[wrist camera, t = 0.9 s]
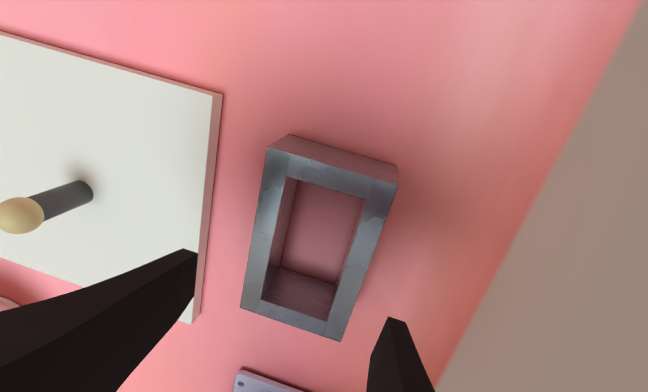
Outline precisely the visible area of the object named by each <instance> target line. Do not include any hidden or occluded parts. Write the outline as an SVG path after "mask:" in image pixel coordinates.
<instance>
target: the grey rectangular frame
mask: <svg viewBox="0 0 648 392" xmlns="http://www.w3.org/2000/svg"><path fill="white" fill-rule="evenodd" d="M298 179H299V180H302V181H305V182H309V183H312V184H315V185H319V186H322V187H325V188H328V189H332V190H335V191H338V192H342V193H345V194H348V195H351V196H355V197H358V198H361V199H364V200H363V203H362V206H361V210H360V213H359V216H358V219H357V222H356V225H355V228H354V231H353V234H352V237H351V240H350V243H349V246H348V249H347V252H346V255H345V258H344V262H343V265H342V268H341V271H340V274H339V277H338V280H337V283H336V285H333V284H330V283H327V282H324V281H321V280H318V279H315V278H312V277H309V276H306V275H303V274H300V273H297V272H294V271H291V270H288V269H285V268H282V267H279V264H280V259H281V255H282V250H283V246H284V241H285V237H286V233H287V228H288V224H289V219H290V215H291V210H292V206H293V202H294V197H295V193H296V188H297V184H298ZM397 188H398V176H397V166H396V165H393V164H389V163H386V162H382V161H379V160H376V159H372V158H369V157H365V156H362V155H358V154H355V153H352V152H348V151H345V150H341V149H338V148H334V147H331V146H327V145H324V144H321V143H317V142H314V141H310V140H307V139H303V138H300V137H297V136H293V135H290V134H288V135H286V136H285V137H283V138H281V139H280V140H278V141H276V142H275V143H273V144H271V145H270V146H268V148H267V153H266V159H265V165H264V171H263V176H262V182H261V188H260V194H259V199H258V205H257V211H256V217H255V222H254V228H253V234H252V240H251V245H250V251H249V257H248V262H247V268H246V274H245V280H244V285H243V291H242V297H241V303H240V308H242V309H245V310H248V311H251V312H254V313H257V314H260V315H262V316H265V317H268V318H271V319H274V320H277V321H280V322H283V323H286V324H289V325H291V326H294V327H297V328H300V329H303V330H306V331H309V332H312V333H315V334H318V335H320V336H323V337H326V338H329V339H332V340H335V341H338V342H341V340H342V337H343V334H344V332H345V329H346V326H347V323H348V321H349V318H350V315H351V313H352V310H353V307H354V304H355V302H356V299H357V296H358V294H359V291H360V288H361V286H362V283H363V280H364V277H365V275H366V272H367V269H368V267H369V264H370V261H371V258H372V256H373V253H374V250H375V248H376V245H377V242H378V240H379V237H380V234H381V231H382V229H383V226H384V223H385V221H386V218H387V215H388V212H389V210H390V207H391V204H392V202H393V199H394V196H395V194H396V191H397Z"/></svg>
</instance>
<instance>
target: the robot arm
mask: <svg viewBox="0 0 648 392" xmlns="http://www.w3.org/2000/svg"><path fill="white" fill-rule="evenodd" d="M197 261H198V253H196V252H193V251H190V250H187V249H184V248H182V249H180V250H177V251H175V252H172V253H170V254H168V255H165V256H163V257H161V258H158V259H156V260H154V261H151V262H149V263H147V264H144V265H142V266H140V267H137V268H135V269H132V270H130V271H128V272H125V273H123V274H120V275H117V276H115V277H112V278H109V279H107V280H104V281H101V282H99V283H96V284H93V285H91V286H88V287H85V288H82V289H79V290H76V291H73V292H70V293H67V294H63V295H60V296H57V297H54V298H50V299H47V300H43V301H40V302H36V303H32V304H28V305H24V306H20V307H16V308H12V309H8V310H4V311H0V392H116V391H117V390H118V388H119V387H120V386H121V385H122V384H123V382H124V381H125V380H126V379H127V377H128V376H129V375H130V374H131V373H132V372H133V370H134V369H135V368H136V367H137V366H138V365H139V364H140V362H141V361H142V360H143V359H144V358H145V357H146V356H147V355H148V353H149V352H150V351H151V350H152V349H153V348H154V347H155V345H156V344H157V343H158V342H159V341H160V340H161V339H162V337H163V336H164V335H165V334H166V333H167V332H168V331H169V329H170V328H171V327H172V326H173V325H174V324H175V322H176V321H177V320H178V319H179V317H180V316H181V315H182V313H183V312H184V310H185V309H186V307H187V306H188V304H189V303H190V301H191V300H192V298H193V297H194V294H195V283H196V272H197ZM233 392H303V391H301V390H298V389H295V388H292V387H290V386H287V385H284V384H281V383H278V382H276V381H273V380H270V379H267V378H265V377H262V376H259V375H256V374H254V373H251V372H248V371H245V370H240V371H238V373H237V375H236V378H235V383H234V388H233ZM367 392H435V390H434V388H433V386H432V384H431V382H430V379H429V377H428V375H427V373H426V371H425V368H424V366H423V364H422V362H421V359H420V357H419V354H418V352H417V350H416V347H415V345H414V342H413V340H412V337H411V335H410V332H409V329H408V327H407V325H406V323H405V322H403V321H400V320H397V319H394V318H391V317H388V318H387V320H386V323H385V325H384V327H383V329H382V332H381V334H380V336H379V338H378V341H377V343H376V345H375V348H374V350H373V352H372V354H371V357H370V365H369V372H368V380H367Z"/></svg>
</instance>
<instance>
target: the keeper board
mask: <svg viewBox="0 0 648 392" xmlns="http://www.w3.org/2000/svg"><path fill="white" fill-rule="evenodd" d="M222 99H223V95H222V94H219V93H215V92H212V91H208V90H205V89H201V88H198V87H194V86H191V85H187V84H184V83H180V82H177V81H173V80H170V79H166V78H163V77H159V76H156V75H152V74H149V73H145V72H142V71H138V70H135V69H131V68H128V67H124V66H121V65H117V64H114V63H110V62H107V61H103V60H100V59H96V58H93V57H89V56H86V55H82V54H79V53H75V52H72V51H68V50H65V49H61V48H58V47H54V46H51V45H47V44H44V43H40V42H37V41H33V40H30V39H26V38H23V37H19V36H16V35H12V34H9V33H5V32H2V31H0V257H1V258H4V259H6V260H9V261H12V262H15V263H18V264H20V265H23V266H26V267H29V268H32V269H35V270H37V271H40V272H43V273H46V274H49V275H51V276H54V277H57V278H60V279H63V280H66V281H68V282H71V283H74V284H77V285H80V286H82V287H88V286H91V285H93V284H96V283H99V282H101V281H104V280H107V279H109V278H112V277H115V276H117V275H120V274H123V273H125V272H128V271H130V270H132V269H135V268H137V267H140V266H142V265H144V264H147V263H149V262H151V261H154V260H156V259H158V258H161V257H163V256H165V255H168V254H170V253H172V252H175V251H177V250H180V249H182V248H184V249H187V250H190V251H193V252H196V253H198V261H197V272H196V283H195V294H194V297H193V298H192V300H191V301H190V303H189V304H188V306H187V307H186V309H185V310H184V312H183V313H182V315H181V316H180V317H179V319H178V321H181V322H184V323H187V324H189V325H192V323H193V322H194V321H195V320H196V318H197V317H198V316H199V315H200V306H201V296H202V287H203V277H204V268H205V259H206V249H207V240H208V230H209V221H210V212H211V202H212V193H213V183H214V174H215V165H216V155H217V146H218V136H219V127H220V118H221V108H222Z"/></svg>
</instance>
